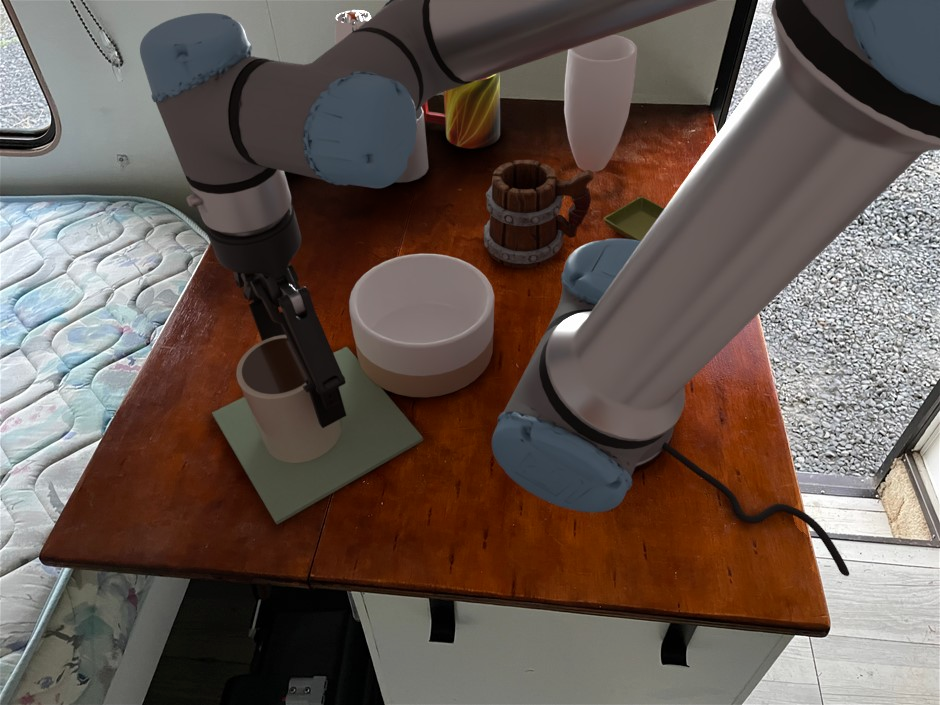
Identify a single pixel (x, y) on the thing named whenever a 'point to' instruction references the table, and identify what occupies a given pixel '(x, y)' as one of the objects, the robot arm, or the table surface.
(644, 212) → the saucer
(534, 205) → the mug
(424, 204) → the table surface
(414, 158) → the cup
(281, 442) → the tumbler
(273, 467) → the mat
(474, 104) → the mug
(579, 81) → the cup
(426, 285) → the bowl
